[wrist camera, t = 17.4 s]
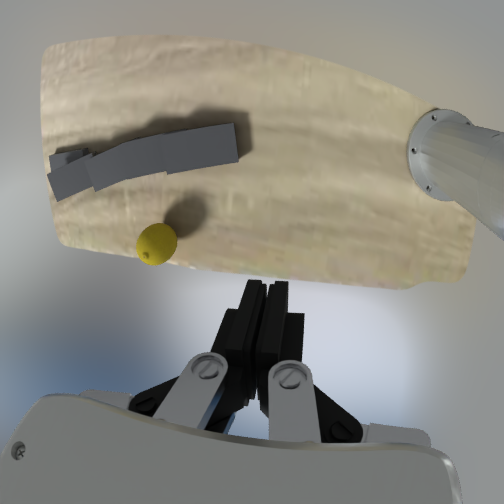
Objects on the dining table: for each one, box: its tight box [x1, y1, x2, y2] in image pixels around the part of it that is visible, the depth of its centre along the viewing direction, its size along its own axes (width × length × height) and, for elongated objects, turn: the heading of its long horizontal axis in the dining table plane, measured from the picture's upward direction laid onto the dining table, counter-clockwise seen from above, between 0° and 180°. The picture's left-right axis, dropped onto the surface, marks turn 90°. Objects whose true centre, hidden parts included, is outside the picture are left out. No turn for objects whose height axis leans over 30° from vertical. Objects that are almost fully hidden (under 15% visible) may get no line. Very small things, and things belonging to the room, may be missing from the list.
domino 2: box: [47, 151, 97, 202], centre depth 38 cm, size 2×5×9 cm
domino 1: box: [49, 148, 88, 172], centre depth 40 cm, size 2×5×9 cm
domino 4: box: [120, 129, 187, 179], centre depth 35 cm, size 2×5×9 cm
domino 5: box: [160, 123, 239, 175], centre depth 34 cm, size 2×5×9 cm
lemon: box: [136, 223, 177, 265], centre depth 40 cm, size 6×6×8 cm
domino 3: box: [84, 137, 141, 192], centre depth 37 cm, size 2×5×9 cm
